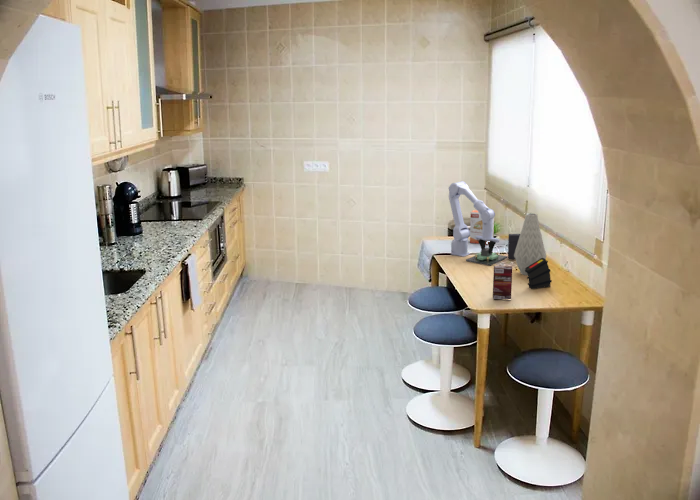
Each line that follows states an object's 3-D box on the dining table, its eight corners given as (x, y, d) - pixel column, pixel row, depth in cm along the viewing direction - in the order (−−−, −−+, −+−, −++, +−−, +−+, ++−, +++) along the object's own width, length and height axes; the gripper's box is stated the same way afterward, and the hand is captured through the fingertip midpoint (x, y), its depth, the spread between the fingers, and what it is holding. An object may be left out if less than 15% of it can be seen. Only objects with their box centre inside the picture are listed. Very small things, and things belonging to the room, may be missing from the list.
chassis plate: (465, 261, 360) (465, 255, 359) (483, 253, 374) (483, 248, 373) (490, 265, 350) (490, 260, 349) (507, 257, 364) (507, 252, 363)
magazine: (556, 283, 311) (546, 258, 306) (535, 296, 310) (524, 272, 305) (552, 281, 315) (542, 257, 310) (531, 294, 314) (520, 270, 308)
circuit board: (471, 258, 360) (471, 250, 359) (484, 252, 370) (484, 245, 369) (488, 261, 352) (489, 253, 351) (501, 256, 363) (502, 248, 362)
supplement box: (493, 300, 296) (493, 268, 292) (492, 296, 301) (493, 265, 297) (511, 300, 295) (512, 268, 290) (510, 297, 299) (511, 265, 295)
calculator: (526, 258, 362) (527, 233, 358) (528, 260, 358) (529, 235, 354) (507, 258, 363) (508, 233, 359) (508, 260, 359) (509, 235, 355)
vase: (543, 279, 323) (546, 218, 315) (510, 276, 330) (512, 216, 321) (547, 270, 338) (550, 211, 329) (516, 267, 345) (518, 210, 336)
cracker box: (469, 243, 399) (470, 211, 394) (472, 241, 404) (472, 209, 399) (491, 245, 393) (491, 213, 387) (493, 242, 398) (494, 211, 392)
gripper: (472, 230, 359) (472, 252, 363) (495, 233, 350) (494, 256, 353) (479, 227, 364) (478, 249, 368) (501, 230, 355) (500, 253, 358)
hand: (486, 252), depth 361 cm, fingers closed on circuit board, 4 cm apart
